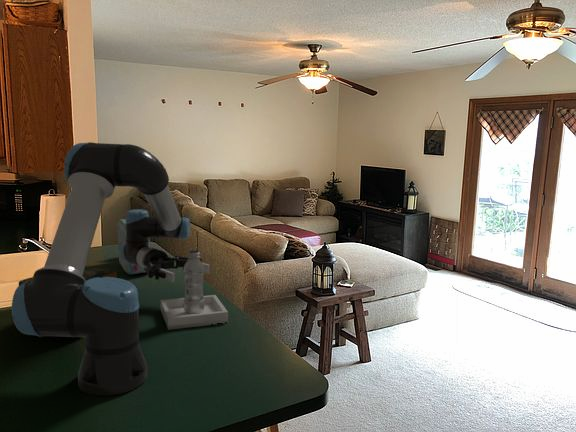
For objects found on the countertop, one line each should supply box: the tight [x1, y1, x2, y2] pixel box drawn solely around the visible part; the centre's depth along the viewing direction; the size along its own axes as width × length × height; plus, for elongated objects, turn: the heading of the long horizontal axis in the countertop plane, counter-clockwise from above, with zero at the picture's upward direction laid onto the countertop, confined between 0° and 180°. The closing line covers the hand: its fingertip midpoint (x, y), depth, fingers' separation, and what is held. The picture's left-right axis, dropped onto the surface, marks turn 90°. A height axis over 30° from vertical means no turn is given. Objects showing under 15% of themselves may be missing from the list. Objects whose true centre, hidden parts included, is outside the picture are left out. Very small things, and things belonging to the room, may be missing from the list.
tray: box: [160, 294, 229, 330], centre depth 148 cm, size 16×18×4 cm
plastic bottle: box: [182, 249, 205, 314], centre depth 146 cm, size 6×7×20 cm
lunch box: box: [117, 218, 151, 275], centre depth 194 cm, size 27×10×21 cm, turn 29°
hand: (191, 273), depth 146 cm, fingers open, 13 cm apart
